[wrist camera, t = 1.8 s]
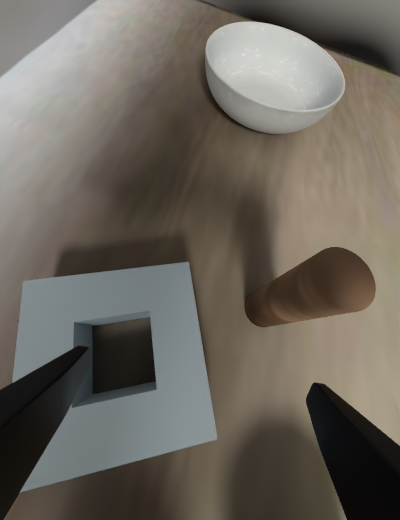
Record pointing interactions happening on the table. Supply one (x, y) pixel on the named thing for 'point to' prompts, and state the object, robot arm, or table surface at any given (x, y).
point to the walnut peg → (314, 290)
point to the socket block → (124, 399)
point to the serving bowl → (271, 77)
